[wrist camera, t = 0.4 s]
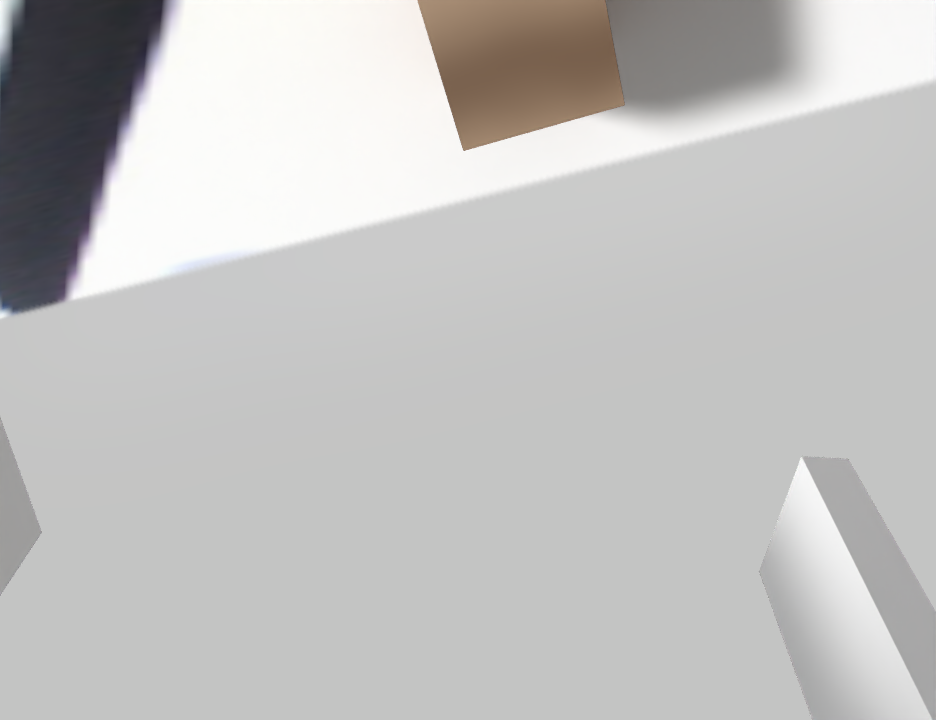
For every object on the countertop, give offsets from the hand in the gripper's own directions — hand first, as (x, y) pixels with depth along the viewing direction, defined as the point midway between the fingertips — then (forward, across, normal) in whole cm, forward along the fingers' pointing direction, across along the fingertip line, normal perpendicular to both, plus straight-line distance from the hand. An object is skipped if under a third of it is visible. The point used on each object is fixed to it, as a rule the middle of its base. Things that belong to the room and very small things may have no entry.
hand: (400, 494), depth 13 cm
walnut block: (+28, +2, +4) cm, 28 cm away
